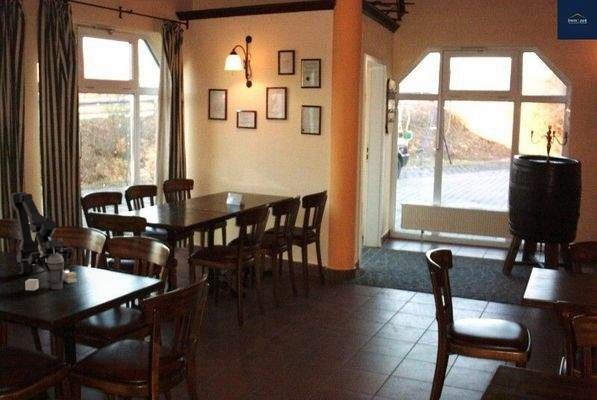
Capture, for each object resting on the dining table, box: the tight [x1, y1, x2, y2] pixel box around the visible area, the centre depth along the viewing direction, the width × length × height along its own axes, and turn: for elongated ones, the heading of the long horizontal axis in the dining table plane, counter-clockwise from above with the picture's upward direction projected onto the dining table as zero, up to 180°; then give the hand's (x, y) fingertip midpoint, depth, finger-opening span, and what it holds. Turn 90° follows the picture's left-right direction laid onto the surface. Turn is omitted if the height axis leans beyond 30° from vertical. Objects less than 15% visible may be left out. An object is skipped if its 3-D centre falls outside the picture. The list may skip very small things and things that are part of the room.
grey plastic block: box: [24, 278, 40, 291], centre depth 283 cm, size 4×4×4 cm
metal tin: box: [63, 268, 70, 282], centre depth 299 cm, size 6×6×4 cm
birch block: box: [64, 271, 78, 284], centre depth 296 cm, size 4×4×4 cm
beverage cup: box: [46, 247, 64, 290], centre depth 284 cm, size 7×7×20 cm
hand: (57, 271), depth 283 cm, fingers closed on beverage cup, 7 cm apart
